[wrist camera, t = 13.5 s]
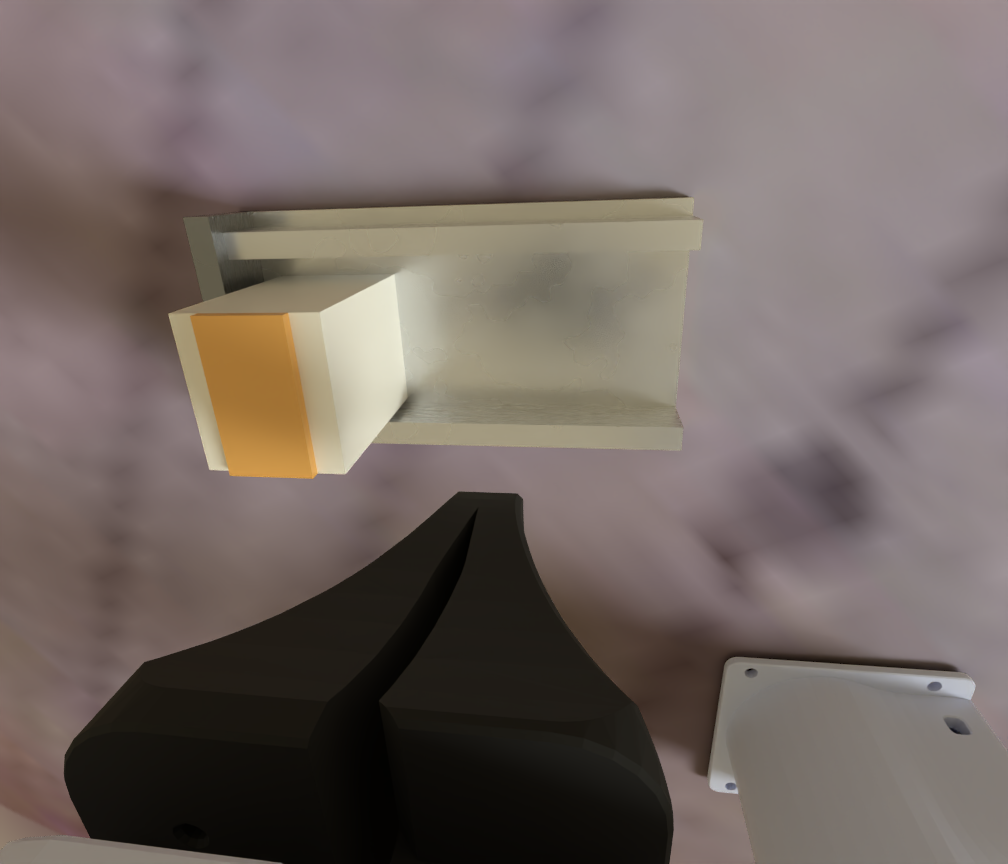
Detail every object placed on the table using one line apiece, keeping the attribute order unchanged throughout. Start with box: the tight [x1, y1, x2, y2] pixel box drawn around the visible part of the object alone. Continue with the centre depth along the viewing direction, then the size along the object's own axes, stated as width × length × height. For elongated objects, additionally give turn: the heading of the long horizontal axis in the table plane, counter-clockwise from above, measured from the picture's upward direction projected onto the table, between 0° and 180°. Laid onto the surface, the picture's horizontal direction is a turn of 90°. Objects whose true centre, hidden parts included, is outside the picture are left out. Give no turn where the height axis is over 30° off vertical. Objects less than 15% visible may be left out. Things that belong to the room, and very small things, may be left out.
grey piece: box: [183, 197, 703, 450], centre depth 19 cm, size 15×8×3 cm, turn 92°
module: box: [168, 274, 408, 479], centre depth 18 cm, size 4×4×6 cm
